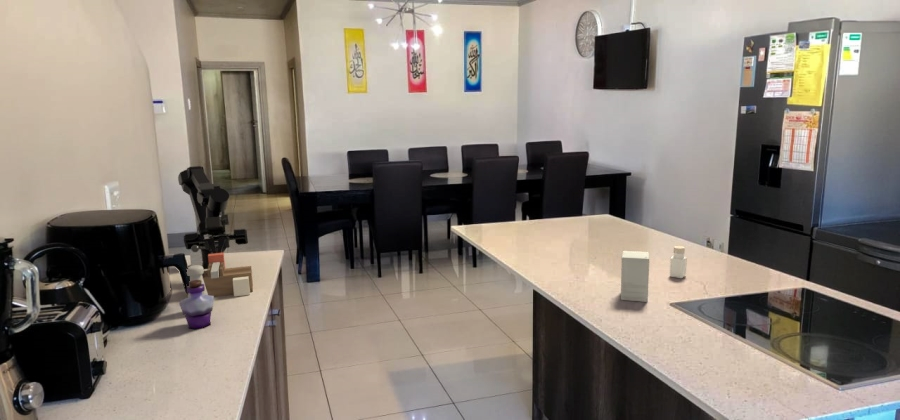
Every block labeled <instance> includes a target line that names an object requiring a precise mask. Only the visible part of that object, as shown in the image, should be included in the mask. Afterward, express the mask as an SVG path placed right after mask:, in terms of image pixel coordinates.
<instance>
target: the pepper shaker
mask: <svg viewBox="0 0 900 420" xmlns="http://www.w3.org/2000/svg"><path fill="white" fill-rule="evenodd" d="M685 250H686V248H685V246H682V245H674V246H673V255H672V256H671V257H670V261H669V264H670V265H669V276H670V277H671V278H677V279H683V278H684V277H686V276H687V262H688V260H687V259H688V258H687V256H685V252H686V251H685Z"/></svg>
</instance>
